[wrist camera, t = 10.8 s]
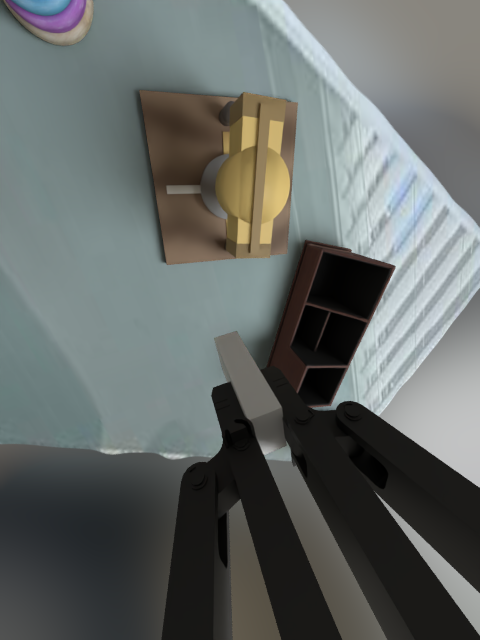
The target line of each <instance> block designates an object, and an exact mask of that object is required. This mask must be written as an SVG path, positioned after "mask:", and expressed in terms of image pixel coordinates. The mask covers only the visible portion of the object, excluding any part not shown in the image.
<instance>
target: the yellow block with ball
mask: <svg viewBox="0 0 480 640" xmlns="http://www.w3.org/2000/svg"><path fill="white" fill-rule="evenodd" d="M285 109H286V100H283V99H277V98H272V97H267V96H261V95H256V94H251V93H245V92H243V93H242V94H241V95H240V97H239V98H238V99H237V100H236V101H235V102H234V103H233V104H232V106H231V107H230V120H229V127H230V137H229V157H228V158H227V159H226V160H225V161H224V162H223V164H222V165H221V167H220V168H219V171H218V173H217V176H216V182H215V191H216V196H217V199H218V202H219V204H220V206H221V207H222V209H223V210H224V211H225V212H226V213H227V237H226V251H228V252H229V253H230V254H231V255H233V256H234V257H235V258H270V251H271V238H272V229H273V219H274V218H275V217H276V216H277V215H278V214H279V213H280V212H281V211H282V209H283V208H284V206H285V204H286V202H287V199H288V196H289V191H290V177H289V172H288V169H287V166H286V164H285V162H284V160H283V159H282V157H281V156H280V152H281V143H282V133H283V124H284V119H285Z"/></svg>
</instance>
